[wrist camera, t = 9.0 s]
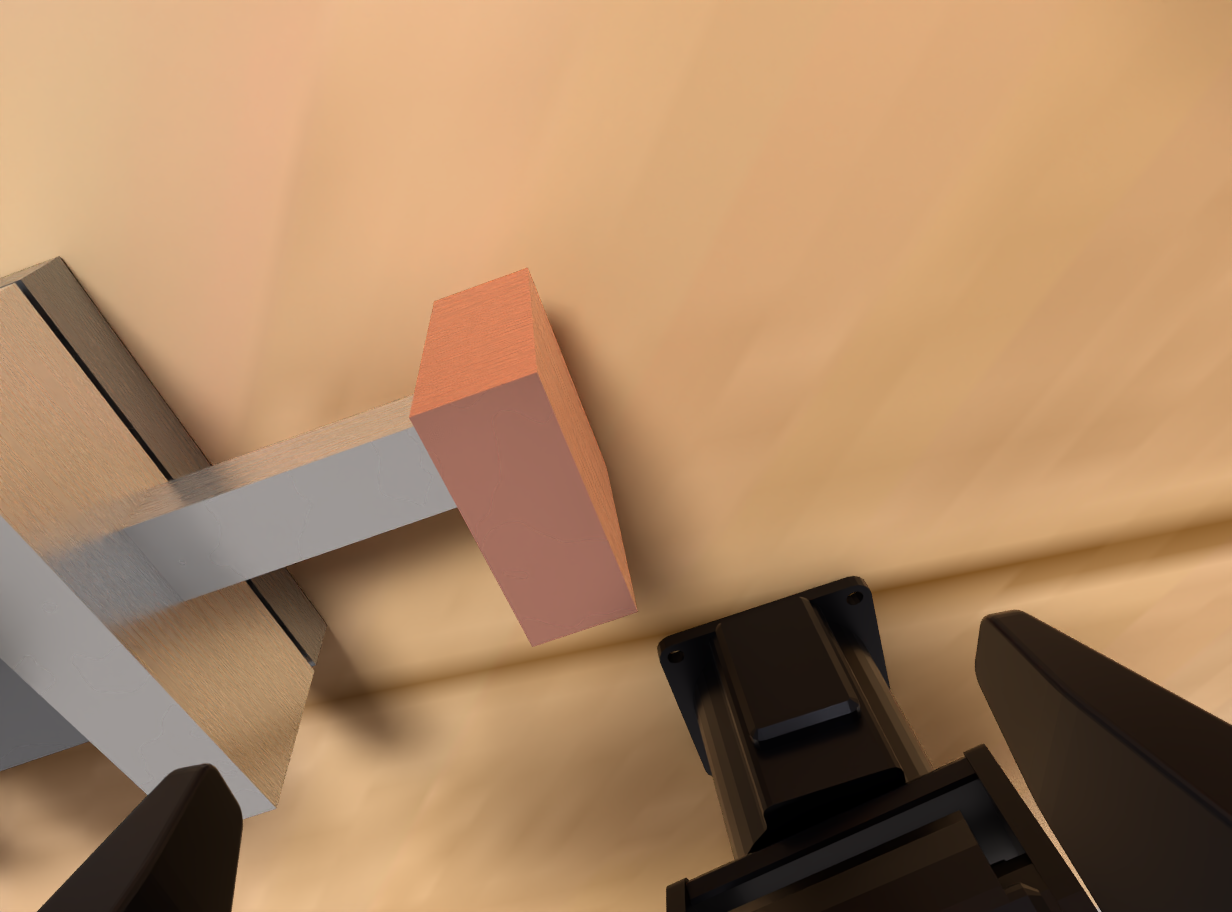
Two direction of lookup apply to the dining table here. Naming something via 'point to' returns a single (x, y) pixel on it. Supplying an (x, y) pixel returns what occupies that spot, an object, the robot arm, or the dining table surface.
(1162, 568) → the dining table surface
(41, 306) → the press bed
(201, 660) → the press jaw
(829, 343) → the dining table surface
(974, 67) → the dining table surface
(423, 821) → the dining table surface
